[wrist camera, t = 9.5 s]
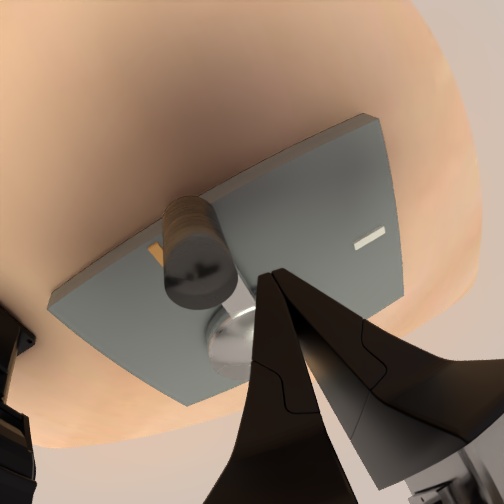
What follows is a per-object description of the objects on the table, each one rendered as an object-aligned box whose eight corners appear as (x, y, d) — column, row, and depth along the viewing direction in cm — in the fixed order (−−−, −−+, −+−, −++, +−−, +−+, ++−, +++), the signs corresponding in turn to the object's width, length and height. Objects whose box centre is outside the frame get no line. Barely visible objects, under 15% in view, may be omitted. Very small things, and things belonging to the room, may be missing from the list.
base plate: (184, 393, 26) (187, 408, 24) (51, 292, 16) (45, 311, 15) (394, 284, 25) (405, 296, 23) (363, 113, 15) (381, 119, 13)
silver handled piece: (326, 333, 22) (352, 379, 19) (236, 375, 23) (251, 426, 19) (254, 157, 13) (294, 200, 9) (107, 239, 13) (92, 307, 10)
